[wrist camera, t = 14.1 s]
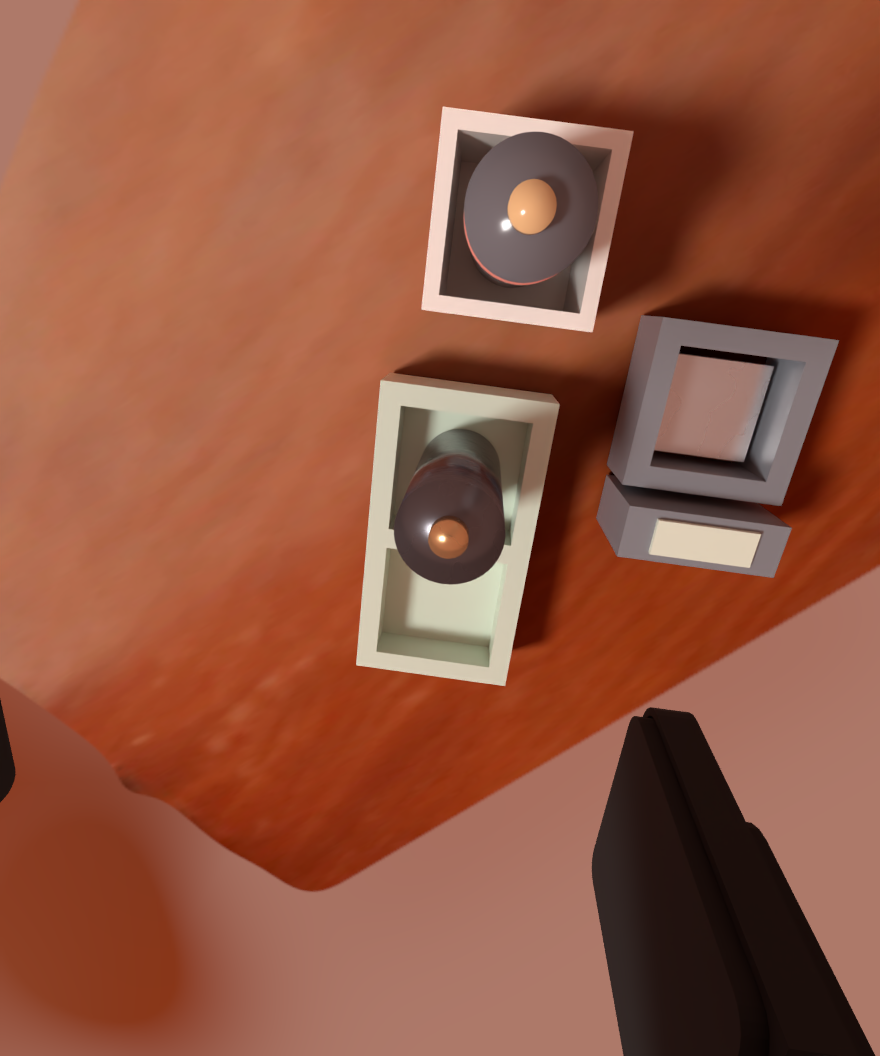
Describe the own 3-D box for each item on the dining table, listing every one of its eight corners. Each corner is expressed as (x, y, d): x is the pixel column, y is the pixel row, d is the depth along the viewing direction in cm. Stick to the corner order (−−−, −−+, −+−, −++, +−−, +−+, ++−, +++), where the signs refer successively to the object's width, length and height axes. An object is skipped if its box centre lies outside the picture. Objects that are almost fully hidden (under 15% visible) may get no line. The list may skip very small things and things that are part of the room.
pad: (665, 350, 28) (675, 353, 26) (759, 363, 28) (773, 366, 26) (642, 442, 29) (650, 449, 28) (731, 454, 29) (743, 462, 28)
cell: (424, 423, 29) (396, 477, 20) (505, 434, 29) (514, 493, 20) (415, 501, 30) (386, 583, 22) (493, 511, 30) (496, 598, 21)
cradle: (641, 315, 28) (676, 318, 23) (796, 335, 28) (865, 343, 23) (594, 518, 31) (615, 558, 26) (731, 536, 31) (778, 580, 26)
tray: (390, 372, 29) (380, 380, 26) (551, 394, 29) (559, 404, 26) (366, 635, 35) (356, 665, 32) (502, 654, 35) (504, 685, 32)
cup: (449, 146, 26) (433, 55, 16) (602, 166, 26) (675, 85, 16) (431, 308, 28) (408, 311, 19) (571, 326, 28) (619, 339, 18)
